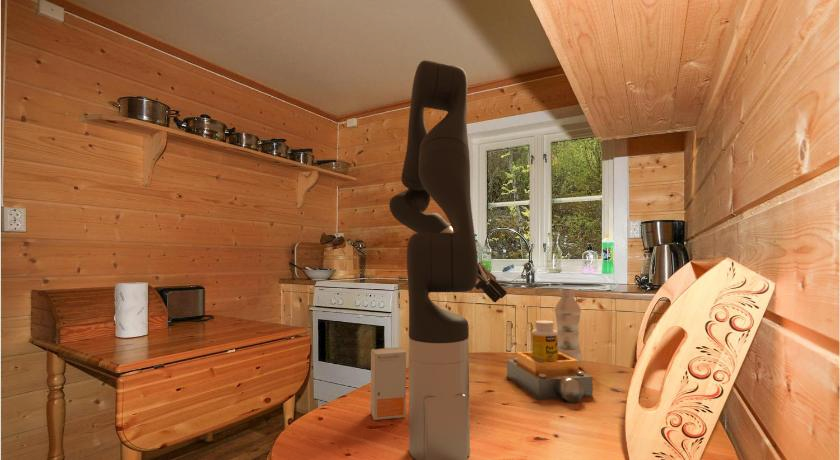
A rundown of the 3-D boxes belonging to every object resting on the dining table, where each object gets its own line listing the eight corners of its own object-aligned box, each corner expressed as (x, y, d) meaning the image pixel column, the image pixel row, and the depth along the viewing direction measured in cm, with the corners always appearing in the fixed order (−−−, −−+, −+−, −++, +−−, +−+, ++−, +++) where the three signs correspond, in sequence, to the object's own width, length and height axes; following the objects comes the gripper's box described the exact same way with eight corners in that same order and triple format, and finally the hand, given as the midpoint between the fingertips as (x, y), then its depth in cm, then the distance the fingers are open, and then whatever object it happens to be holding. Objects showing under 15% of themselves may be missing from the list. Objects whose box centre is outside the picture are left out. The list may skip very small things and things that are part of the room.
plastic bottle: (549, 365, 115) (548, 289, 116) (569, 362, 118) (567, 288, 119) (567, 371, 109) (566, 291, 110) (587, 368, 112) (585, 290, 113)
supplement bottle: (546, 372, 94) (545, 324, 95) (527, 366, 99) (526, 321, 99) (563, 368, 97) (562, 322, 98) (544, 362, 102) (543, 318, 102)
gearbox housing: (601, 401, 88) (600, 368, 88) (545, 405, 85) (545, 371, 86) (553, 373, 107) (552, 346, 107) (507, 376, 105) (506, 349, 105)
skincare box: (373, 421, 78) (373, 353, 78) (370, 413, 82) (370, 348, 82) (406, 417, 79) (406, 351, 80) (401, 409, 83) (401, 346, 84)
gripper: (456, 237, 99) (508, 289, 94) (471, 238, 112) (516, 284, 108) (434, 260, 100) (484, 312, 96) (451, 259, 114) (495, 305, 109)
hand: (501, 297), depth 102 cm, fingers open, 8 cm apart
